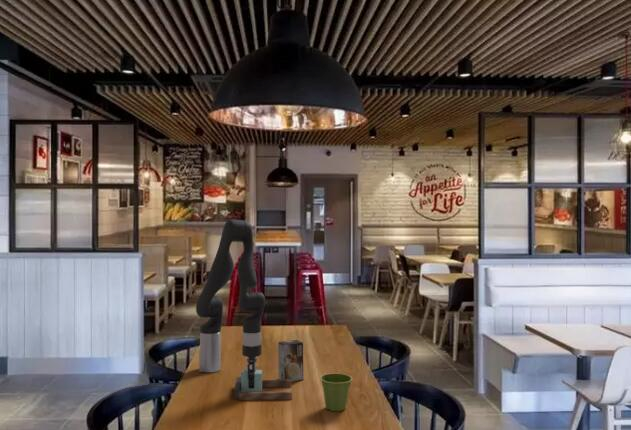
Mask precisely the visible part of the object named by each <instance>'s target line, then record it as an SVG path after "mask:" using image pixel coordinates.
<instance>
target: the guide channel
mask: <svg viewBox="0 0 631 430" xmlns="http://www.w3.org/2000/svg"><path fill="white" fill-rule="evenodd" d="M284 387H285V388H286V387H287V388H289V387H290V388H291V387H292V382H291V380H280V379H262V388H284ZM292 399H293V391H265V392H264V391H254V392H241V376H237V377H236V380H235V384H234V388H233V401H258V400H260V401H263V400H292Z"/></svg>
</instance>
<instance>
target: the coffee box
mask: <svg viewBox="0 0 631 430" xmlns="http://www.w3.org/2000/svg"><path fill="white" fill-rule="evenodd" d="M277 343H278V344H277V346H278V347H277V348H278V349H277V351H278V357H277V358H278V360H277V361H278V362H277V363H278V380H291V383H292V382H296V381H297V382H298V381H303V380H304V342H302V341H301V340H298V339H293V340H285V341H284V340H283V341H278V342H277Z"/></svg>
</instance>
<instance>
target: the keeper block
mask: <svg viewBox="0 0 631 430" xmlns="http://www.w3.org/2000/svg"><path fill="white" fill-rule="evenodd" d="M249 375H253V374H252V373H250V374H249ZM254 376H255V378H254V388H249V387H248V372H247V369H246V370H245V369H242V370H241V373H240V377H241V392H263V387H262V380H263V369H256V372H255V375H254Z"/></svg>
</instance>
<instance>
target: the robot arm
mask: <svg viewBox="0 0 631 430" xmlns="http://www.w3.org/2000/svg"><path fill="white" fill-rule="evenodd" d="M252 227H253V226H252V224H251V222H250V221H249V220H246V219H245V220H243V219H227V220H226V222H225V224H224V226H223V229H222V233H221V236H220V241H219V245H218V248H217V251H216V254H215V257H214V259H213V261H212V264H211V268H210V271H209V274H208V276H207V278H206V279H207V280H206V281H205V284H204V286H203V288H202V290H201V292H200V295H199V296H198V299H197V302H196V304H195V312H196V315H197V316H198V317H200V318H205V319H207V318H209V319H207V321H206V322H204V323H203V324H201V325H200V328H199V330H200V331H199V336H200V337H199V350H198V351H199V355H198V358H199V360H198V362H199V363H198V369H199V371H198V372H200V373H201V372H202V373H216V372H219V371H221V370H222V363H221V362H222V354H221V353H222V326H223V313H224V312H223V311H224V306H223V299H222V298H221V297H220V296H219V295H216V294H217V293H218V292H219V291H220V290H222V288H223V287H225V286H226V285H227V283H228V282H230V279H231V277H232V274H233V271H234V268H235V263H234V260H233V257H232V255H231V251H230V249H231V245H232V243H233V242H234V243H236V242H237V243H242V245H243V252H242V255H241V257H240V259H239V261H238V264H237V276H238V277H237V278H238V281H239V295H238V302H237V303H238V307H239V309H240V310H241V311H243V312H249V311H250V312H251V311H253V313H252V314H250V315H247V316H245V317H243V319H242V336H241V337H242V339H241V341H242V342H241V343H242V344H241V345H242V347H241V350H242V352H241V355H242V356H243V357H247V359H246V370H247V372H248V387H249V388H254V378H255V376H254V375H255V372H256V370H257V365H258V359H257V357H260V356H261V355H262V332H261V329H262V326H261V325H262V318H263V314H264V309H265V306H266V296H265V295H264V294H263V292H259V291H257V292H255V291H254V292H248V291H249V290H251V289H254V288H256V287H257V285H258V280H257V275H256V268H255V262H254V261H255V260H254V237H253V235H254V234H253V229H252ZM250 373H252V374H253V375H249V374H250Z"/></svg>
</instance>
